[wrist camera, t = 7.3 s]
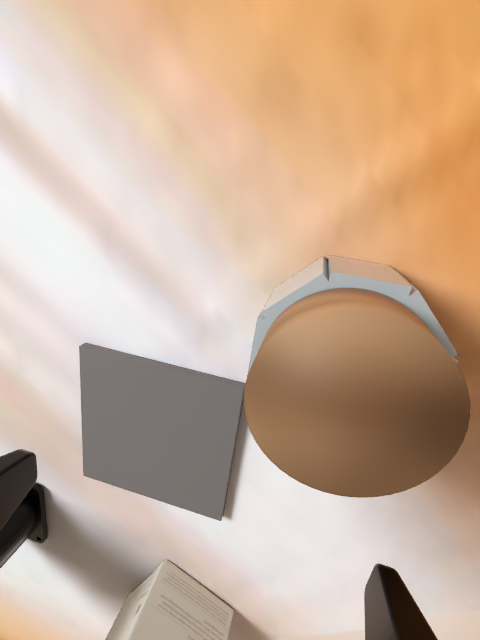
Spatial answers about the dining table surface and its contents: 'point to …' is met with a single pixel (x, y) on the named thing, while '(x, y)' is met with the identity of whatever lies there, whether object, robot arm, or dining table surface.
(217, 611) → the supplement box
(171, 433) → the mat
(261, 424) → the tan rounded dome
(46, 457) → the dining table surface
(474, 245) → the dining table surface
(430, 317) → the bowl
